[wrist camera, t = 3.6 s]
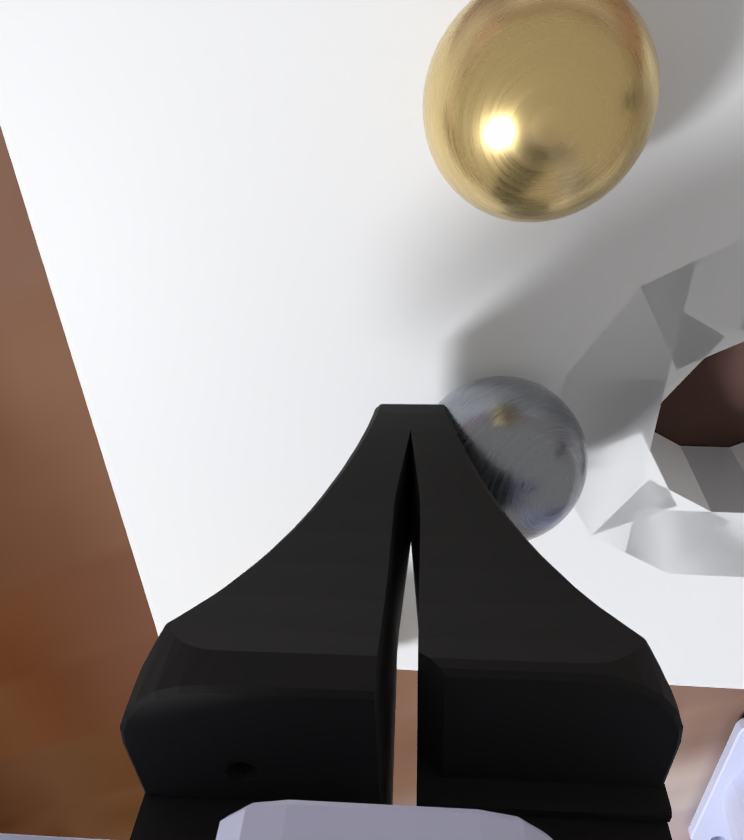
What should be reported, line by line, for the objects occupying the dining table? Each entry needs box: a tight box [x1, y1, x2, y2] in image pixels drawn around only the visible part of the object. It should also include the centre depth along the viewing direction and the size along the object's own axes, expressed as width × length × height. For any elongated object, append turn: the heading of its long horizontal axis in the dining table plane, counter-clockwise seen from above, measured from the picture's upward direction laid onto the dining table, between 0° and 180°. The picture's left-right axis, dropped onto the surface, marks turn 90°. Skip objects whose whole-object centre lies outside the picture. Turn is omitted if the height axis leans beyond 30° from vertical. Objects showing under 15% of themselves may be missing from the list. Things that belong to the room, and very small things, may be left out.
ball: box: [438, 376, 588, 540], centre depth 13 cm, size 3×3×3 cm
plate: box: [0, 0, 744, 689], centre depth 15 cm, size 22×17×2 cm
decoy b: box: [422, 0, 660, 223], centre depth 10 cm, size 3×3×3 cm
